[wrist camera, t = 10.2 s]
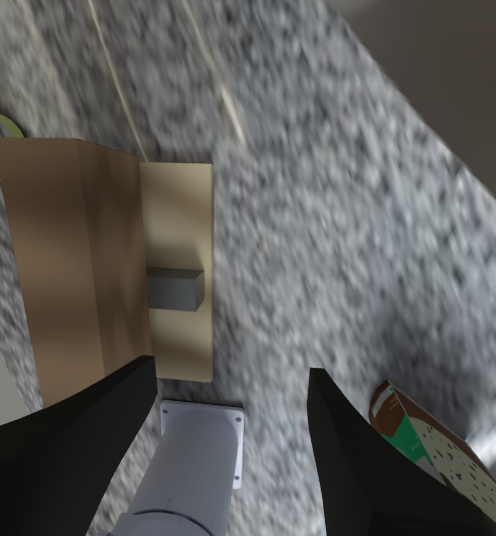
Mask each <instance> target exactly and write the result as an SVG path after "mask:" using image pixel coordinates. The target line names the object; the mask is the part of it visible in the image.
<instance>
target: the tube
mask: <svg viewBox="0 0 496 536" xmlns="http://www.w3.org/2000/svg"><path fill="white" fill-rule="evenodd" d="M0 137H18V138H24V136H23V134H22V132H21V131H20V129H19V128H18V127H17V126H16V124H15V123H14V122H13V121H11V120H10V119H9V118H7V117H5V116H3V115H1V114H0Z"/></svg>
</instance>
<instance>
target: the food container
mask: <svg viewBox="0 0 496 536" xmlns="http://www.w3.org/2000/svg"><path fill="white" fill-rule="evenodd" d="M369 420H370V424H371V426H372V427H373V428H374V429H375V430H376V431H377V432H378V433H379V434H380V435H381V436H382V437H384V438H385V439H386V440H387V441H388V442H389V443H390V444H391V445H393V446H394V447H395V448H396V449H397V450H399V451H400V452H401V453H402V454H403V455H405V456H406V457H407V458H408V459H410V460H411V461H412V462H413V463H415V464H416V465H417V466H419V467H420V468H421V469H423V470H424V471H426V472H427V473H428V474H430V475H431V476H433V477H434V478H435V479H437V480H438V481H440V482H441V483H442V484H444V485H445V486H447V487H449V488H450V489H452V490H453V491H455V492H456V493H458V494H460V495H461V496H463V497H464V498H466V499H467V500H469V501H471V502H472V503H474V504H475V505H477V506H478V507H480V508H481V509H482V511H483V512H484V514H485V515H486V516H487V518H488V519H489V520H490V522H491V523H492V524H493V526H494V527H495V529H496V479H495V477H494V476H493V475H492V474H491V473H490V471H489V470H488V469H487V468H486V466H485V465H484V464H483V463H482V461H481V460H480V459H479V458H478V456H477V455H476V454H475V453H474V451H473V450H472V449H471V448H470V446H469V445H468V444H467V443H466V442H465V441H464V440H463V439H462V438H461V437H459V436H458V435H457V434H456V433H454V432H453V431H452V430H451V429H449V428H448V427H447V426H445V425H444V424H443V423H442V422H440V421H439V420H438V419H437V418H435V417H434V416H433V415H432V414H430V413H429V412H428V411H427V410H425V409H424V408H423V407H422V406H420V405H419V404H418V403H416V402H415V401H414V400H413V399H411V398H410V397H409V396H408V395H406V394H405V393H404V392H403V391H401V390H400V389H399V388H398V387H396V386H395V385H394V384H392V383H391V382H390V381H389V380H386V381H385V382H384V383H383V384H382V385H381V386H380V387H379V388H378V389H377V391H376V393H375V395H374V397H373V398H372V400H371V402H370V409H369Z"/></svg>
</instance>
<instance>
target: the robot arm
mask: <svg viewBox="0 0 496 536" xmlns="http://www.w3.org/2000/svg"><path fill="white" fill-rule="evenodd" d="M157 393H158V389H157V377H156V365H155V356H151V355H141V356H139V357H137V358H136V359H134V360H132V361H131V362H129V363H127V364H126V365H124V366H123V367H121V368H119V369H118V370H116V371H114V372H113V373H111V374H109V375H108V376H106V377H105V378H103V379H101V380H99V381H98V382H96V383H94V384H92V385H91V386H89V387H87V388H85V389H83V390H82V391H80V392H78V393H76V394H74V395H72V396H70V397H68V398H66V399H64V400H62V401H60V402H58V403H56V404H53V405H51V406H49V407H47V408H44V409H42V410H39V411H37V412H35V413H32V414H30V415H27V416H25V417H22V418H20V419H17V420H14V421H12V422H9V423H6V424H3V425H0V536H85V535H86V533H87V531H88V529H89V526H90V524H91V522H92V520H93V517H94V515H95V513H96V511H97V509H98V506H99V504H100V502H101V500H102V498H103V496H104V494H105V491H106V489H107V487H108V485H109V483H110V481H111V479H112V477H113V475H114V473H115V471H116V469H117V467H118V466H119V464H120V462H121V460H122V458H123V457H124V455H125V453H126V452H127V450H128V448H129V447H130V445H131V443H132V442H133V440H134V438H135V437H136V435H137V433H138V432H139V430H140V428H141V426H142V425H143V423H144V421H145V419H146V418H147V416H148V414H149V412H150V410H151V408H152V405H153V403H154V401H155V398H156V396H157ZM164 409H165V410H164ZM166 410H167V411H166ZM244 414H245V413H244V410H243V409H242V408H237V407H227V406H218V405H208V404H199V403H189V402H179V401H170V400H163V401H162V402H161V404H160V418H161V435H162V439H161V441H160V443H159V445H158V447H157V449H156V451H155V453H154V456H153V458H152V460H151V462H150V464H149V466H148V468H147V470H146V472H145V475H144V477H143V479H142V481H141V483H140V485H139V487H138V489H137V492H136V494H135V496H134V498H133V500H132V502H131V504H130V506H129V509H128V511H127V513H121V514H120V516H119V518H118V521H117V523H116V525H115V527H114V529H113V531H112V533H111V532H109V531H107V530H104V529H102V530H101V531H99V532H98V533H97V534H96V535H95V536H226V529H227V522H228V516H229V509H230V502H231V495H232V489H233V488H234V489H239V488H241V486H242V466H243V440H244ZM307 415H308V425H309V432H310V437H311V442H312V448H313V452H314V457H315V462H316V467H317V472H318V477H319V482H320V487H321V493H322V499H323V508H324V516H325V525H326V534H327V536H496V529H495V527H494V526H493V524H492V523H491V522H490V520H489V519H488V518H487V516H486V515H485V514H484V512H483V511H482V509H481V508H480V507H478V506H477V505H475V504H474V503H472V502H471V501H469V500H467V499H466V498H464V497H463V496H461V495H460V494H458V493H456V492H455V491H453V490H452V489H450V488H449V487H447V486H445V485H444V484H442V483H441V482H440V481H438V480H437V479H435V478H434V477H433V476H431V475H430V474H428V473H427V472H426V471H424V470H423V469H421V468H420V467H419V466H417V465H416V464H415V463H413V462H412V461H411V460H410V459H408V458H407V457H406V456H405V455H403V454H402V453H401V452H400V451H399V450H397V449H396V448H395V447H394V446H393V445H391V444H390V443H389V442H388V441H387V440H386V439H385V438H384V437H382V436H381V435H380V434H379V433H378V432H377V431H376V430H375V429H374V428H373V427H372V426H371V425H370V424H369V423H368V422H367V421H366V420H365V419H364V418H363V417H362V416H361V414H360V413H359V412H358V411H357V410H356V409H355V408H354V406H353V405H352V404H351V403H350V402H349V400H348V399H347V398H346V397H345V396H344V394H343V393H342V392H341V390H340V389H339V388H338V386H337V385H336V384H335V382H334V381H333V380H332V378H331V377H330V376H329V374H328V373H327V371H326V370H325V369H323V368H310V375H309V386H308V397H307ZM237 417H239V418H240V419H239V418H237Z"/></svg>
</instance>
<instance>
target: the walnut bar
mask: <svg viewBox="0 0 496 536" xmlns="http://www.w3.org/2000/svg"><path fill="white" fill-rule="evenodd" d="M0 181H1V186H2V191H3V197H4V202H5V207H6V212H7V218H8V223H9V228H10V233H11V238H12V244H13V249H14V254H15V259H16V265H17V270H18V275H19V280H20V285H21V291H22V296H23V301H24V306H25V312H26V317H27V322H28V327H29V332H30V338H31V343H32V348H33V353H34V359H35V364H36V369H37V374H38V380H39V385H40V390H41V395H42V400H43V406H44V408H47V407H49V406H51V405H53V404H56V403H58V402H60V401H62V400H64V399H66V398H68V397H70V396H72V395H74V394H76V393H78V392H80V391H82V390H83V389H85V388H87V387H89V386H91V385H92V384H94V383H96V382H98V381H99V380H101V379H103V378H105V377H106V376H108V375H109V374H111V373H113V372H114V371H116V370H118V369H119V368H121V367H123V366H124V365H126V364H127V363H129V362H131V361H132V360H134V359H136V358H137V357H139V356H141V355H151V356H152V353H151V337H150V321H149V306H148V290H147V274H146V258H145V242H144V227H143V211H142V195H141V179H140V164H139V157H138V156H134V155H131V154H128V153H124V152H121V151H117V150H114V149H110V148H107V147H104V146H100V145H97V144H93V143H90V142H86V141H83V140H80V139H66V138H18V137H0Z"/></svg>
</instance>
